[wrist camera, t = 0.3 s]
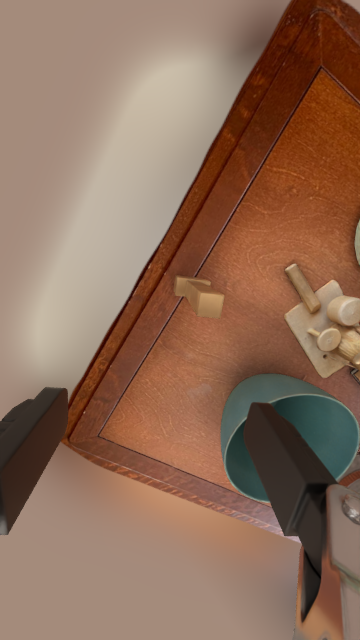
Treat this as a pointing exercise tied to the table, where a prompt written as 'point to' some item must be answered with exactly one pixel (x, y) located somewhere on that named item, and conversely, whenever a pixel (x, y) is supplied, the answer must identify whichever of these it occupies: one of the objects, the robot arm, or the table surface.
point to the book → (356, 375)
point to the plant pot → (299, 409)
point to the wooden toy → (325, 324)
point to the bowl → (357, 242)
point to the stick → (199, 295)
